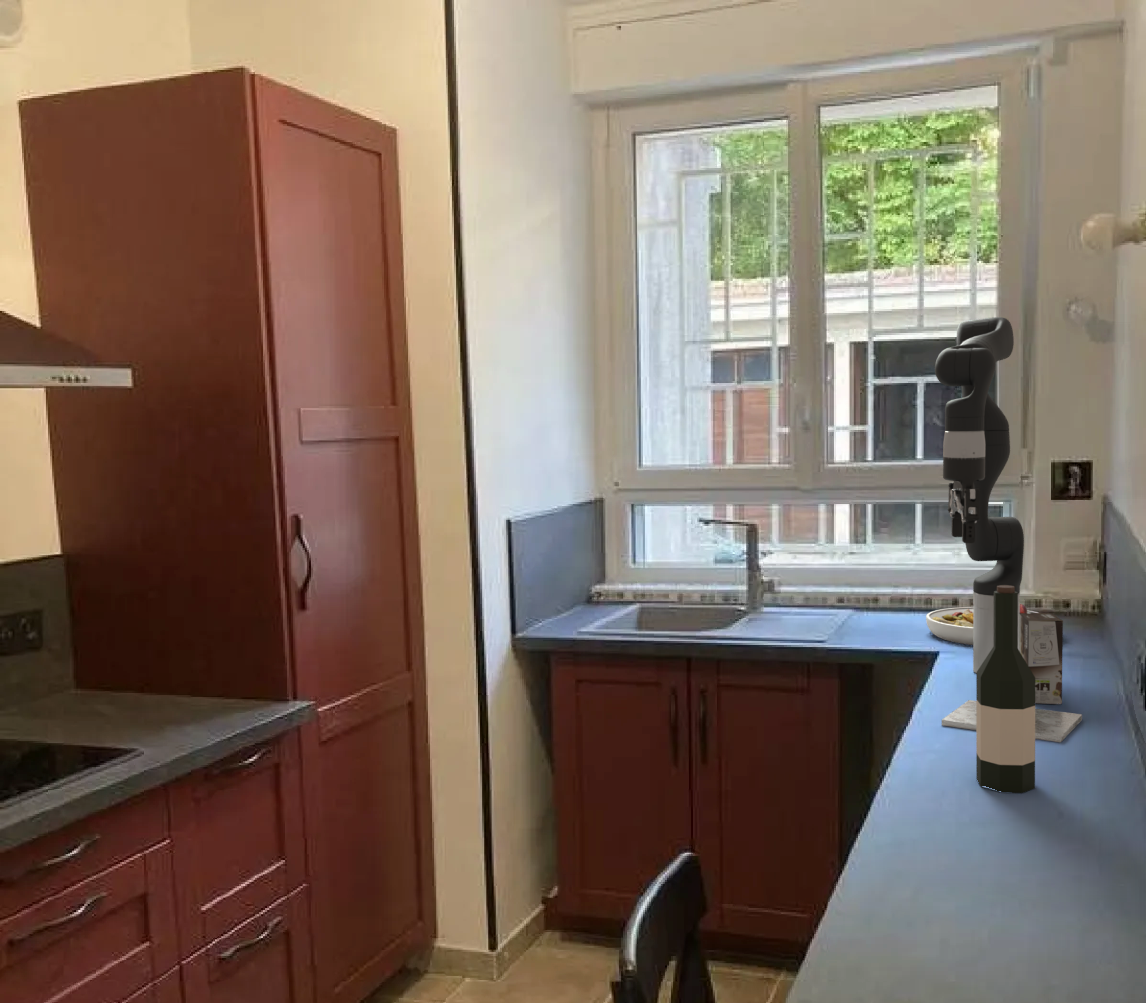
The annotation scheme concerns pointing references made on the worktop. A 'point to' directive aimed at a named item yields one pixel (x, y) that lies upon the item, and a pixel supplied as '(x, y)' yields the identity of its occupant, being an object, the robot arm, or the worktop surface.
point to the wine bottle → (1005, 706)
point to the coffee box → (1043, 653)
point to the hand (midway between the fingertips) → (963, 539)
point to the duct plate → (1046, 721)
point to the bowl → (955, 623)
